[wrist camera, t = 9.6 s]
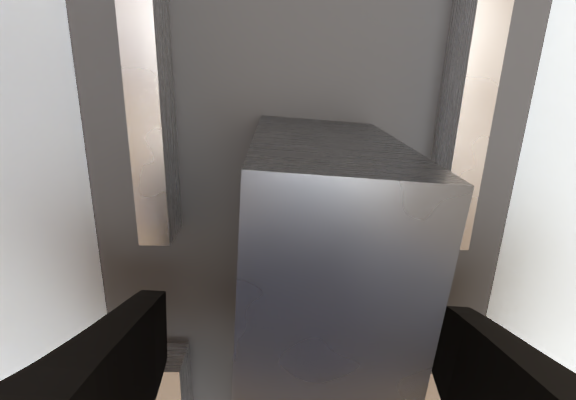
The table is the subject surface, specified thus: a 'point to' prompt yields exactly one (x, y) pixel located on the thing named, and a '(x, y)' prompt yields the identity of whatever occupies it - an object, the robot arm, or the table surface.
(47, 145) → the table surface
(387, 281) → the dark gray rectangular chunk
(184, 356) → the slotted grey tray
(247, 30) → the grey slide base plate
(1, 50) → the table surface
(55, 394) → the robot arm
